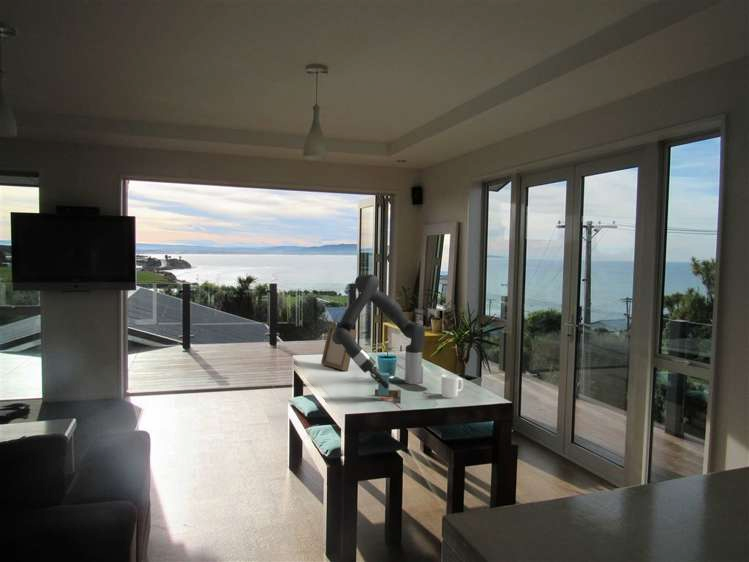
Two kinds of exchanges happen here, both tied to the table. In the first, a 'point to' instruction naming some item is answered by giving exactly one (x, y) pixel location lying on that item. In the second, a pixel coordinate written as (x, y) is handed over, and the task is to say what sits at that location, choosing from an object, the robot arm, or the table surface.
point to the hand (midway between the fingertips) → (387, 385)
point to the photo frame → (336, 352)
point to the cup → (450, 386)
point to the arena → (391, 393)
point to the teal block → (380, 388)
